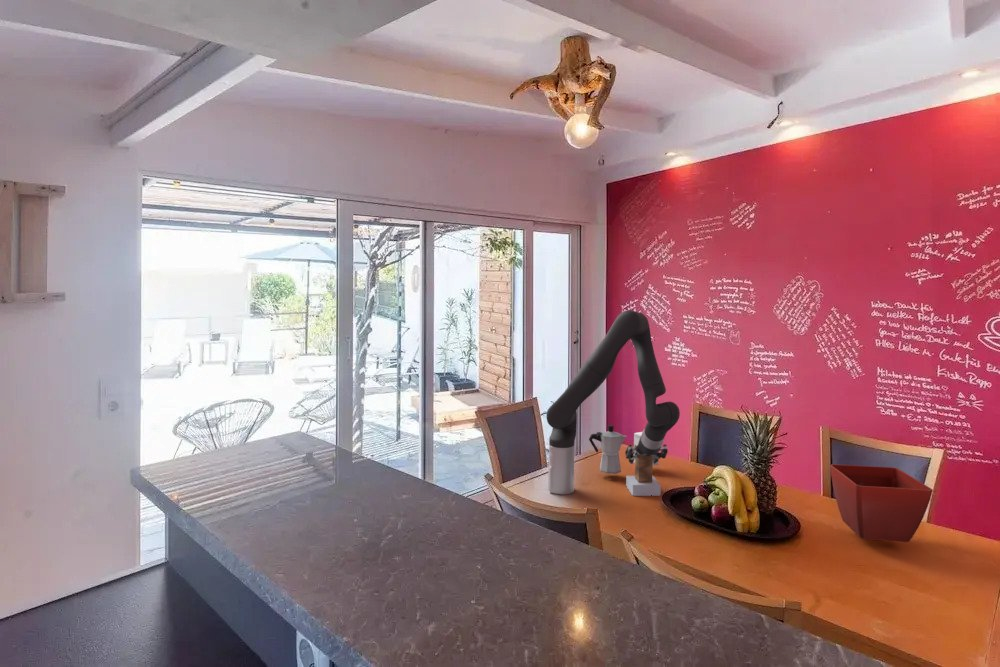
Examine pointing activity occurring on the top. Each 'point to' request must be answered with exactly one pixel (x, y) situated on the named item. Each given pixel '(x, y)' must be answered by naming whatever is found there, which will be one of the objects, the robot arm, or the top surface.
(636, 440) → the supplement box
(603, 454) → the coffee maker
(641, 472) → the walnut block
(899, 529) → the plant pot
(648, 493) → the stand
